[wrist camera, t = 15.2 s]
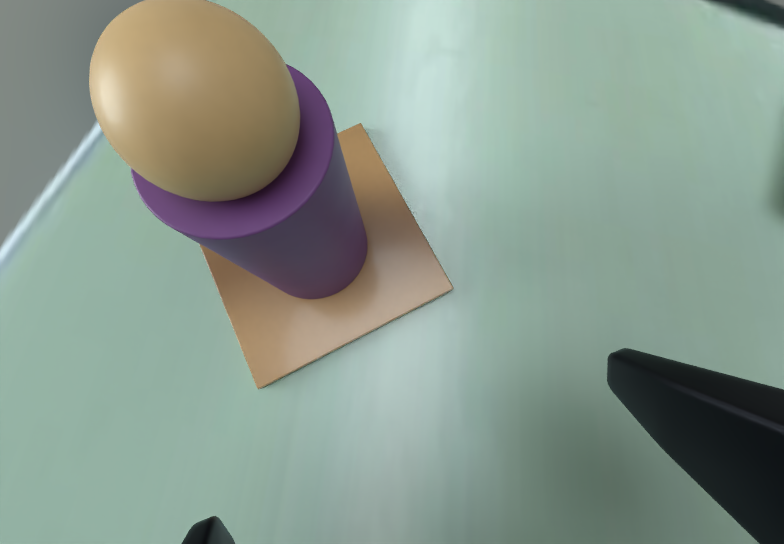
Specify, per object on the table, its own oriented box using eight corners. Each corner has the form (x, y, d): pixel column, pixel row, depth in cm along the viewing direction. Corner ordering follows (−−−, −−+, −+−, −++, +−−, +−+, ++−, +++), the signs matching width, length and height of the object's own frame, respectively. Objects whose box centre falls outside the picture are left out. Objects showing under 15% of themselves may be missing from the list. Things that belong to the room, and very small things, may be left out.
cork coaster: (452, 289, 18) (453, 288, 17) (260, 389, 17) (257, 389, 17) (361, 126, 20) (360, 122, 20) (187, 207, 19) (182, 204, 19)
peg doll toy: (386, 268, 18) (351, 84, 6) (286, 318, 17) (33, 229, 5) (339, 180, 19) (232, -124, 7) (245, 225, 18) (-39, -17, 7)
